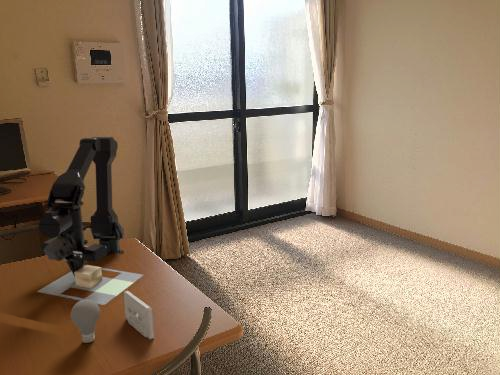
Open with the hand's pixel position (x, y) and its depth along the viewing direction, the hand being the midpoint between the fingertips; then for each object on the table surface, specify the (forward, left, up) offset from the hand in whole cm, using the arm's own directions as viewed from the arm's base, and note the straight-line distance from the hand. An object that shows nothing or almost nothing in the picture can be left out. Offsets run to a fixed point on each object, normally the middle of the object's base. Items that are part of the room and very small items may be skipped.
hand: (77, 276), depth 120 cm
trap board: (0, +5, -3) cm, 6 cm away
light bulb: (+21, +21, -3) cm, 30 cm away
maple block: (0, +4, -1) cm, 4 cm away
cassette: (+13, +29, -3) cm, 32 cm away
